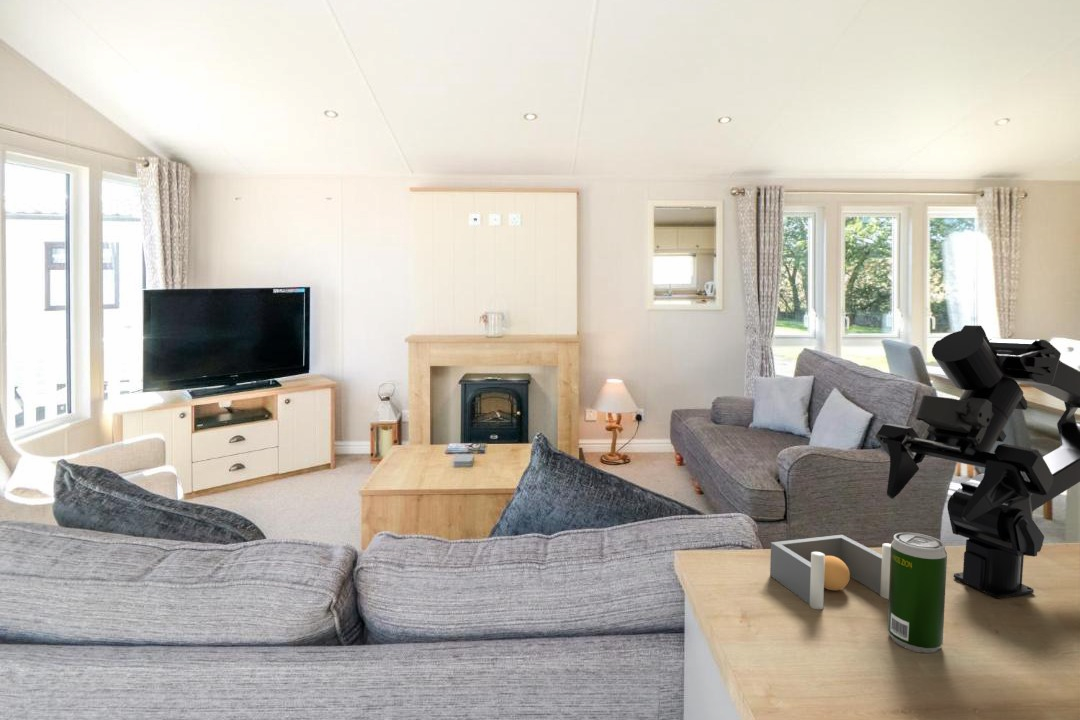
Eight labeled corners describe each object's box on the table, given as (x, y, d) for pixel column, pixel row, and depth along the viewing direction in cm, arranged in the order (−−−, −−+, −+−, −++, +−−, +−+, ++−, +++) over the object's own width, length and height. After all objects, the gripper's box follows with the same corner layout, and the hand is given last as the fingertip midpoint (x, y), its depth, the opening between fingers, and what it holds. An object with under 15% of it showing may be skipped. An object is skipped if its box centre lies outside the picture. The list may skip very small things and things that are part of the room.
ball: (848, 550, 78) (862, 584, 76) (828, 557, 82) (841, 590, 80) (820, 554, 77) (834, 589, 75) (801, 561, 81) (814, 595, 79)
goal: (842, 566, 85) (844, 521, 85) (897, 598, 76) (899, 547, 75) (768, 576, 82) (769, 529, 82) (815, 610, 73) (817, 557, 72)
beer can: (926, 660, 62) (931, 554, 61) (877, 636, 67) (881, 537, 66) (952, 645, 65) (957, 543, 64) (903, 623, 70) (907, 528, 69)
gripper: (886, 366, 81) (829, 451, 77) (1046, 380, 64) (983, 490, 60) (918, 416, 85) (866, 499, 81) (1078, 442, 68) (1021, 548, 64)
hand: (924, 507), depth 72 cm, fingers open, 9 cm apart
